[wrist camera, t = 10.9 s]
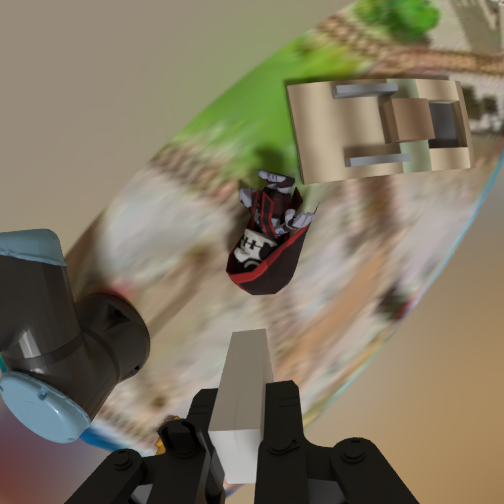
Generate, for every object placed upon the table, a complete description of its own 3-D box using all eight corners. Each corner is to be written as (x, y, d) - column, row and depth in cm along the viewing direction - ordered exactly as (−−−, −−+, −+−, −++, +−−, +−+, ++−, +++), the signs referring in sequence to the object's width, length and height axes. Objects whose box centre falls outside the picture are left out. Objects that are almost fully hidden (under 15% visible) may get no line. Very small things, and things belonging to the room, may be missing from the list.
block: (385, 143, 38) (399, 140, 33) (378, 107, 36) (391, 98, 32) (418, 141, 37) (435, 138, 32) (411, 105, 36) (427, 98, 31)
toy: (286, 180, 30) (252, 319, 35) (345, 192, 36) (311, 308, 40) (223, 161, 39) (201, 273, 43) (280, 171, 45) (256, 269, 49)
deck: (302, 184, 42) (307, 185, 36) (286, 91, 40) (288, 78, 34) (465, 167, 40) (486, 167, 34) (450, 85, 37) (469, 76, 31)
